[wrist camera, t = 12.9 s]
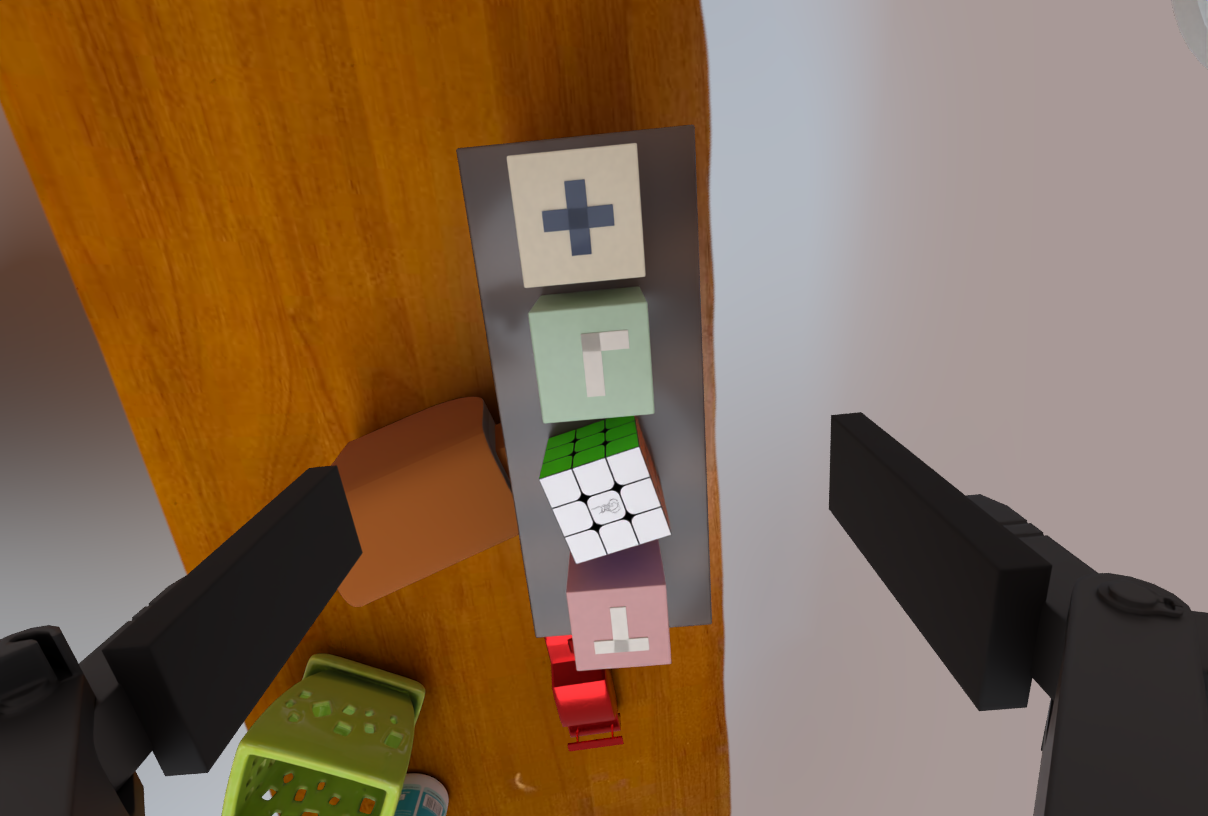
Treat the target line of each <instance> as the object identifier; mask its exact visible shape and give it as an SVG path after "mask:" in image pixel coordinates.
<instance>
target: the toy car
mask: <svg viewBox="0 0 1208 816" xmlns="http://www.w3.org/2000/svg"><path fill="white" fill-rule="evenodd" d="M544 638H545V642H546V646H547V650H548V653H549V657H550V661H551V673H552V690H553V694H554V699H555V703H556V706H557V710H558V714H559V717H560V721H561V723H562V725H563V727H566V726H568V729H569V733H570V736H571V737H577V742H574V743H568V749H569V751H576V750H583V749H590V748H598V747H605V746H612V745H619V744H624V743H623V738H622V736H618V737H614V733H613V731H620V730H621V721H620V713H618V708H617V700H616V694H615V689H614V684H613V680H612V675H611V671H610V669H597V670H583V671H577V669H576V662H575V654H574V647H573V640H572V635H565V636H552V637H544ZM606 732H612V737H610V738H603V739H596V740H589V741H581V742H579V736H584V735H592V734H599V733H606Z"/></svg>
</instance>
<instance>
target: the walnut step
mask: <svg viewBox="0 0 1208 816" xmlns="http://www.w3.org/2000/svg"><path fill="white" fill-rule="evenodd" d="M630 143H636V144H637V153H638V168H639V183H640V198H641V213H642V228H643V243H644V259H645V274H646V275H645V277H637V278H627V279H616V280H605V281H595V282H584V283H574V284H563V285H552V286H542V287H531V288H525V287H524V282H523V275H522V267H521V260H520V253H519V245H518V238H517V231H516V223H515V216H514V209H513V202H512V194H511V187H510V180H509V172H508V165H507V156H511V155H521V154H531V153H541V152H551V151H561V150H571V149H581V148H591V147H601V146H610V145H620V144H630ZM456 152H457V158H458V164H459V170H460V176H461V183H462V189H463V195H464V201H465V207H466V213H467V219H468V225H469V232H470V238H471V244H472V250H473V256H474V262H475V268H476V274H477V281H478V287H479V293H480V299H481V305H482V311H483V317H484V324H485V330H486V336H487V342H488V348H489V354H490V360H491V366H492V373H493V379H494V385H495V391H496V397H497V403H498V409H499V415H500V422H501V428H502V434H503V440H504V446H505V452H506V458H507V464H508V471H509V477H510V483H511V489H512V495H513V501H514V507H515V513H516V520H517V526H518V532H519V538H520V544H521V550H522V556H523V563H524V569H525V575H526V581H527V587H528V593H529V599H530V605H531V612H532V618H533V624H534V630H535V636H536V638H539V637H552V636H565V635H572V633H571V625H570V618H569V611H568V603H567V596H566V588H567V578H568V567H569V556H570V550H569V547H568V545H567V543H566V541H565V538H564V536H563V534H562V531H561V529H560V527H559V525H558V522H557V520H556V518H555V515H554V513H553V511H552V508H551V506H550V504H549V502H548V500H547V497H546V495H545V493H544V490H543V488H542V486H541V484H540V481H539V476H540V472H541V467H542V463H543V459H544V455H545V450H546V446H547V442H548V439H549V438H552V437H555V436H558V435H561V434H564V433H567V432H570V431H573V430H576V429H578V428H581V427H584V426H587V425H590V424H593V423H596V422H599V421H602V420H605V419H608V418H602V419H590V420H579V421H567V422H556V423H543V419H542V412H541V405H540V397H539V390H538V383H537V375H536V368H535V361H534V353H533V346H532V339H531V331H530V324H529V317H528V313H529V312H530V310H531V309H532V307H533V306H534V304H535V303H536V302H537V300H538V299H539V297H540V296H541V295H551V294H562V293H573V292H583V291H594V290H605V289H615V288H626V287H637V286H638V287H640V289H641V291H642V293H643V295H644V297H645V299H646V301H647V303H648V317H649V333H650V348H651V363H652V378H653V393H654V408H655V412H654V414H647V415H636V417H637V420H638V423H639V426H640V429H641V431H642V434H643V437H644V440H645V442H646V445H647V448H648V451H649V453H650V456H651V459H652V462H653V465H654V467H655V470H656V473H657V476H658V478H659V481H660V484H661V487H662V491H663V496H664V500H665V505H666V510H667V514H668V519H669V523H670V528H671V533H672V535H670V536H666V537H663V538H660V539H658V541H659V546H660V552H661V558H662V564H663V570H664V575H665V581H666V590H667V606H668V621H669V627H681V626H694V625H707V624H711V623H712V613H711V584H710V556H709V527H708V498H707V470H706V441H705V413H704V384H703V355H702V327H701V298H700V270H699V241H698V213H697V184H696V155H695V127H694V125H684V126H674V127H664V128H654V129H644V130H635V131H625V132H615V133H605V134H595V135H585V136H575V137H565V138H555V139H545V140H535V141H526V142H516V143H506V144H496V145H486V146H476V147H466V148H458V149H457V150H456Z"/></svg>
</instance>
